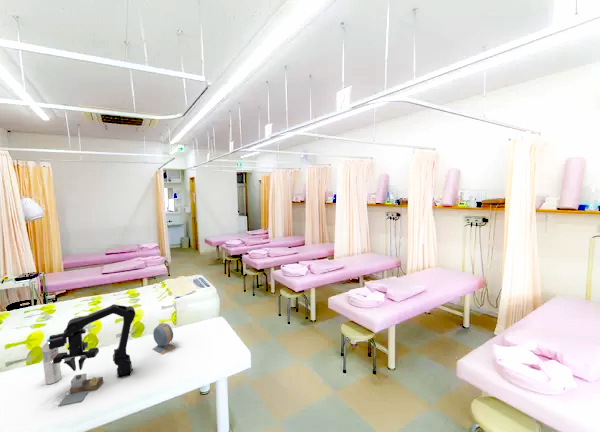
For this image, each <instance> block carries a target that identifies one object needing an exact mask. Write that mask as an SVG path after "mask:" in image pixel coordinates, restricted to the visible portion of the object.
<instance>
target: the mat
mask: <svg viewBox="0 0 600 432" xmlns="http://www.w3.org/2000/svg"><path fill="white" fill-rule="evenodd" d="M88 393H89V391H84V392H79V393H74V394H70V393H69V394H66V395H65V396H64V397H63V398H62V400H61V401H60V403H59V404H58V405H57V407H63V406H69V405H73V404H77V403H82V402H83V401H84V400H85V398H86V396H87V395H88Z"/></svg>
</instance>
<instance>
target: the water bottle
mask: <svg viewBox="0 0 600 432" xmlns="http://www.w3.org/2000/svg"><path fill="white" fill-rule="evenodd" d="M41 352H42V360H43V362H42V363H43V372H44V380H45V381H44V382H45V384H46V385H53V384H55V383H57V382H59V381H60V380H61V379H62V369H61V362H60V363H56V364H53V359H54V358H55V357H56V356H57V355H58V354H59V353H60V352H59V348H55V349H51V350H50V349H49V338H48V339H46V342H45V343H44V345H43V346H42V347H41Z"/></svg>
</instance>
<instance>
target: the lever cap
mask: <svg viewBox="0 0 600 432" xmlns="http://www.w3.org/2000/svg"><path fill="white" fill-rule="evenodd" d="M87 380H88V379H87V373H81V374H80V373H79V374H75V375H74V376H73V378H72V379H71V380H70V388H76V387H81V386H83V385H84V383H85V382H86V381H87Z"/></svg>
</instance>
